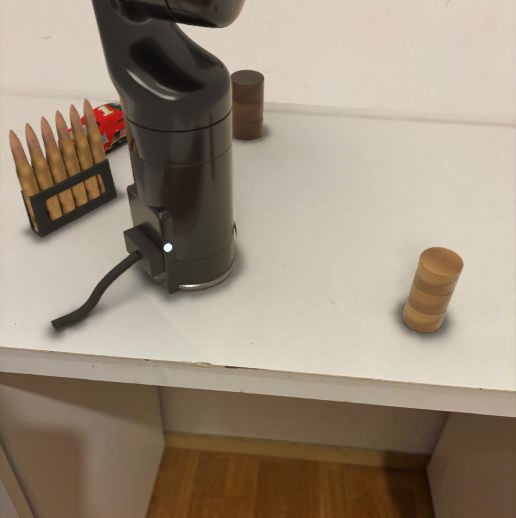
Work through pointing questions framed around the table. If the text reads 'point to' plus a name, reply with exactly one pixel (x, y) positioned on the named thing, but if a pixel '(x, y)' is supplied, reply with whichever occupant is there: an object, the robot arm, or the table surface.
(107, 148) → the race car
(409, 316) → the oak chip base pile
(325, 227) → the table surface
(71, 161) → the ammunition clip
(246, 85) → the walnut chip pile
